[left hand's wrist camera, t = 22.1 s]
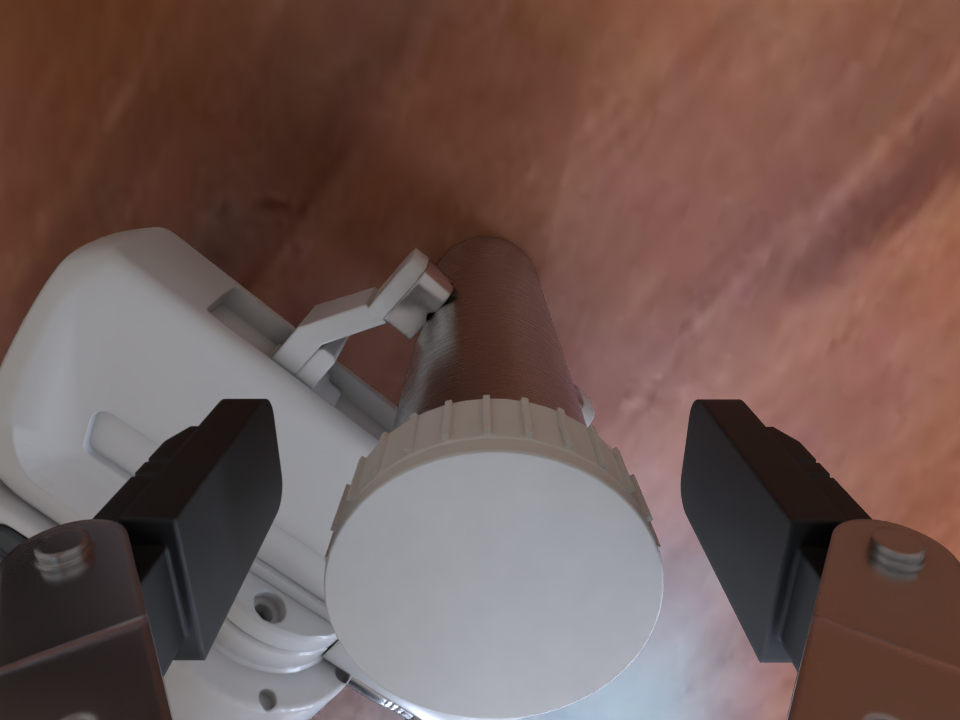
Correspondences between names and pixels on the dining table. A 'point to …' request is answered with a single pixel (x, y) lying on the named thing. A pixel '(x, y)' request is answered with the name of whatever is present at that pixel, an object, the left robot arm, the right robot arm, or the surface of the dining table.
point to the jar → (488, 337)
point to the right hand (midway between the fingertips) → (507, 330)
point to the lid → (493, 561)
